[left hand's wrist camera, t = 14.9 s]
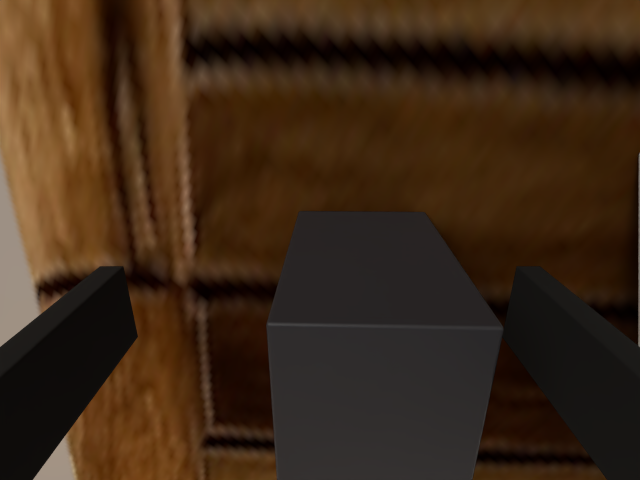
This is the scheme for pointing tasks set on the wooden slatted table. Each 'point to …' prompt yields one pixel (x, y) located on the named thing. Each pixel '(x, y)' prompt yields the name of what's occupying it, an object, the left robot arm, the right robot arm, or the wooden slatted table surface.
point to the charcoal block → (377, 352)
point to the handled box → (639, 258)
